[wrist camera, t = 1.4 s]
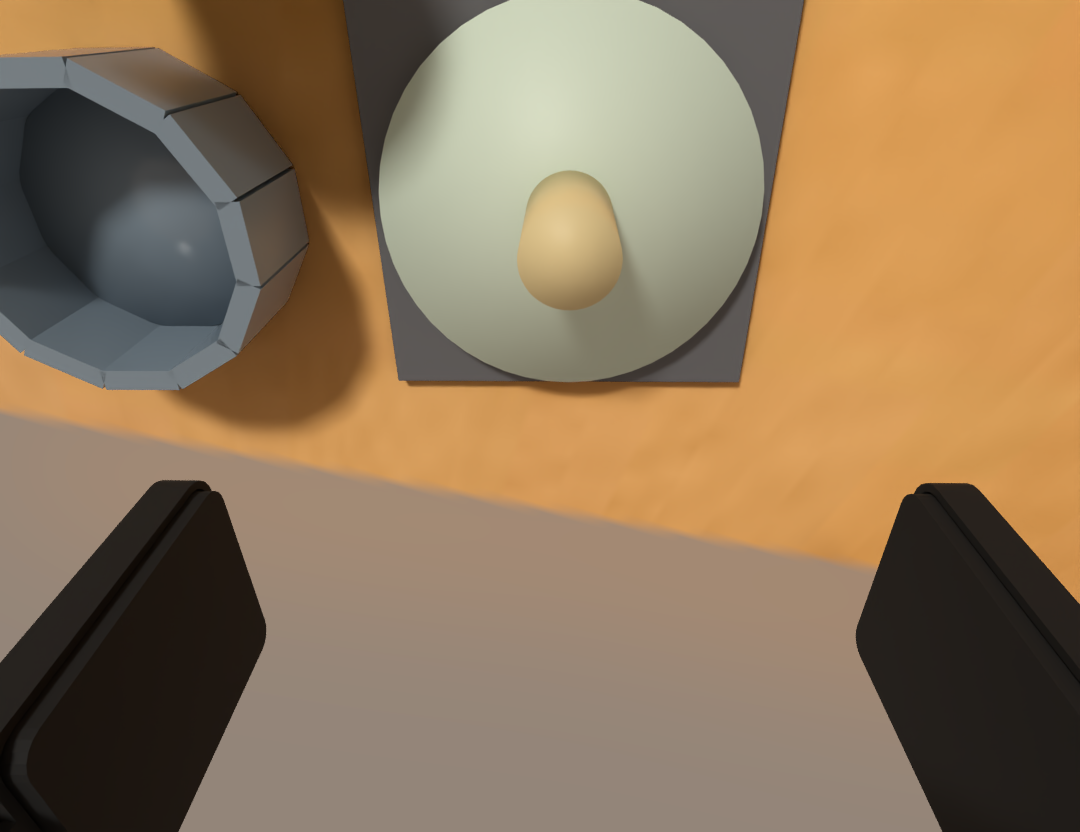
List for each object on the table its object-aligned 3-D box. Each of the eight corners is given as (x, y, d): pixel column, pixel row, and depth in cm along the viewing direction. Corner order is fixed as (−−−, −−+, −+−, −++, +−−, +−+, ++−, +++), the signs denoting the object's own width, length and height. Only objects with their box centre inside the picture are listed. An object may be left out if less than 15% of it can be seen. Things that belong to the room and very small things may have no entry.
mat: (803, -33, 21) (809, -34, 21) (735, 375, 29) (738, 381, 29) (344, -25, 22) (339, -26, 21) (401, 374, 30) (398, 380, 29)
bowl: (269, 45, 23) (202, 54, 19) (327, 333, 29) (286, 390, 24) (-36, 49, 23) (-170, 59, 19) (83, 333, 29) (1, 389, 25)
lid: (790, -15, 21) (862, -21, 16) (729, 371, 28) (764, 451, 23) (357, -8, 21) (291, -11, 16) (408, 370, 29) (375, 448, 24)
